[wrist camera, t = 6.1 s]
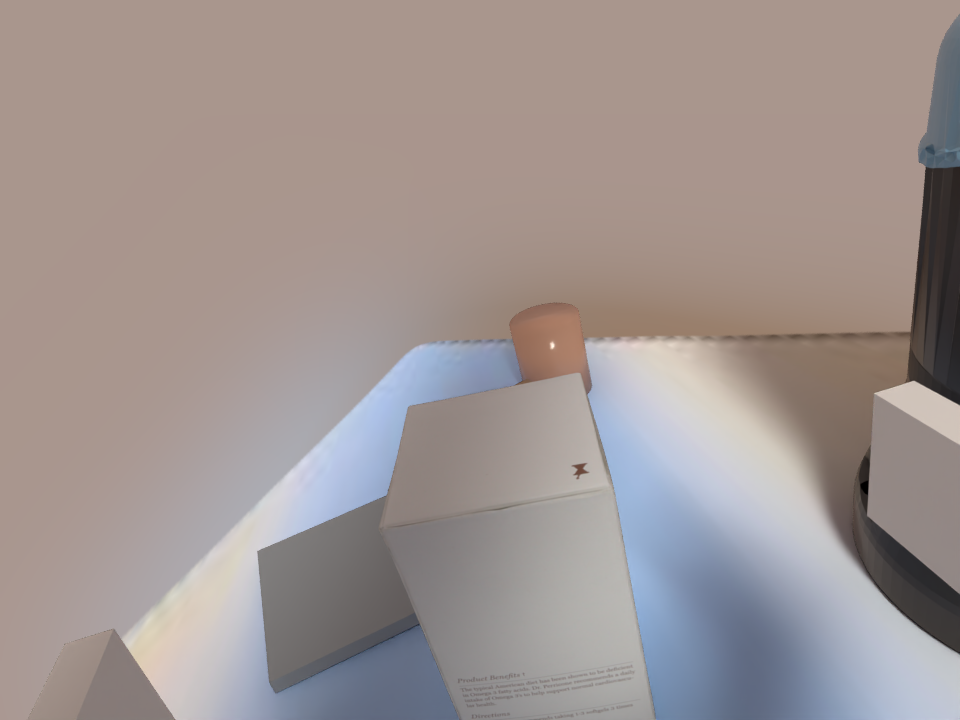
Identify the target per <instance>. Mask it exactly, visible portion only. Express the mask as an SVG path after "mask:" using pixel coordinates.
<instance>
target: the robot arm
mask: <svg viewBox="0 0 960 720" xmlns="http://www.w3.org/2000/svg"><path fill="white" fill-rule="evenodd" d="M918 157H919V163H922V164H924V165H925V166H926V170H925V183H924V196H923V207H922V218H921V229H920V240H919V251H918V261H917V272H916V283H915V294H914V304H913V315H912V326H911V336H910V351H909V363H908V374H907V379H906V382H905V384H902V385H899V386H896V387H892V388H889V389H886V390H883V391H880V392H876V393H874V402H873V420H872V438H871V445H870V447H869V449H868V451H867V453H866V455H865V456H864V458H863V460H862V462H861V464H860V467H859V469H858V472H857V476H856V479H855V485H854V498H853V521H852V526H853V535H854V540H855V543H856V547H857V550H858V552H859V554H860V557H861V559H862V561H863V563H864V565H865V567H866V568H867V570H868V572H869V573H870V575H871V576H872V578H873V579H874V580H875V582H876V583H877V584H878V586H879V587H880V588H881V589H882V591H883V592H884V593H885V594H886V595H887V596H888V597H889V598H890V599H891V600H892V601H893V602H894V603H895V604H896V605H897V606H898V607H899V608H900V609H901V610H902V611H903V612H904V613H905V614H906V615H907V616H909V617H910V618H911V619H912V620H913V621H914V622H916V623H917V624H918V625H920V626H921V627H922V628H923V629H925V630H926V631H927V632H929V633H930V634H932V635H933V636H934V637H936V638H937V639H939V640H940V641H942V642H943V643H945V644H946V645H948V646H949V647H951V648H953V649H954V650H956V651H958V652H959V653H960V15H959V16H958V17H957V18H956V19H955V20H954V22H953V23H952V25H951V26H950V28H949V29H948V31H947V32H946V34H945V37H944V39H943V41H942V43H941V46H940V49H939V53H938V57H937V63H936V70H935V77H934V84H933V91H932V98H931V106H930V112H929V119H928V126H927V132H926V133H925V135H924V136H923V138H922V139H921V141H920V144H919V147H918ZM28 720H175V719H174V717H173V716H172V714H171V713H170V711H169V710H168V708H167V707H166V705H165V704H164V702H163V701H162V699H161V698H160V696H159V695H158V693H157V692H156V690H155V689H154V687H153V686H152V684H151V683H150V681H149V680H148V678H147V677H146V675H145V674H144V673H143V671H142V670H141V668H140V667H139V665H138V664H137V662H136V661H135V659H134V658H133V656H132V655H131V653H130V652H129V650H128V649H127V647H126V646H125V644H124V643H123V641H122V640H121V638H120V637H119V635H118V634H117V633H116V631H115V629H111V630H108V631H104V632H101V633H98V634H95V635H91V636H88V637H85V638H82V639H79V640H75V641H72V642H69V643H66V644H64V647H63V649H62V651H61V653H60V655H59V657H58V659H57V661H56V663H55V665H54V667H53V669H52V671H51V673H50V675H49V677H48V679H47V681H46V683H45V685H44V687H43V690H42V691H41V693H40V695H39V698H38V700H37V702H36V704H35V706H34V708H33V710H32V712H31V714H30V716H29V718H28Z"/></svg>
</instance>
